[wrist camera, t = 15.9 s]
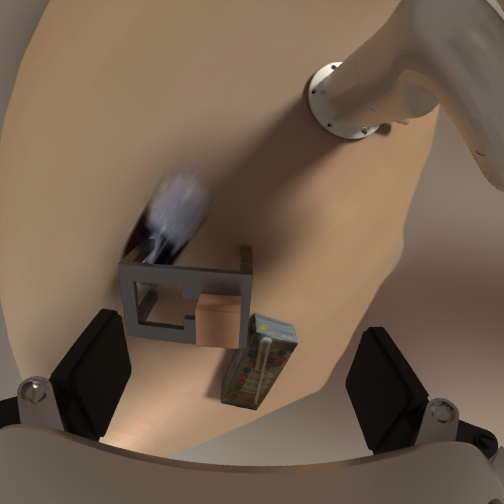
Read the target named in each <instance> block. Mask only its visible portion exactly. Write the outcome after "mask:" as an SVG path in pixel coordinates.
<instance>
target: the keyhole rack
mask: <svg viewBox="0 0 504 504" xmlns="http://www.w3.org/2000/svg"><path fill="white" fill-rule="evenodd" d="M153 249H154V239H145V240H144V241H142V242H141V243H140V244H139V245H138V246H137V247H136V248H135V249H133V250H132V251H131V252H130V253H129V254H128V255H127V256H126V257H125V258H124V259H123V260H121V261H120V262H119V263H118V270H119V279H120V288H121V296H122V303H123V310H124V317H125V323H126V329H127V335H130V336H137V337H143V338H150V339H157V340H164V341H172V342H180V343H189V344H196V316H189V315H185V317H184V326H179V325H171V324H162V323H155V322H147V321H146V319H147V317H148V315H149V314H150V312H151V310H152V308H153V306H154V305H155V303H156V301H157V292H148V293H147V295H146V296H145V298H144V299H143V301H142V302H141V304H140V305H139V304H138V295H137V285H136V282H144V283H154V284H164V285H174V286H183V299H186V300H197V301H198V300H199V297H200V294H212V295H225V296H240V297H241V317H240V331H239V346H238V348H246V344H247V333H248V323H249V312H250V302H251V291H252V281H253V266H252V248H251V246H242V248H241V264H240V271H234V270H220V269H207V268H195V267H183V266H171V265H159V264H148V263H141V262H142V261H143V260H144V259H145V258H146V257H147V256H148V255H149V254H150V252H151V251H152V250H153Z"/></svg>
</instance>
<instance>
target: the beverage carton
mask: <svg viewBox="0 0 504 504" xmlns="http://www.w3.org/2000/svg"><path fill="white" fill-rule="evenodd" d="M297 344H298V340H297V337H296V333H295V329H294V328H293V325H292V324H290V323H286V322H282V321H279V320H276V319H272V318H269V317H266V316H263V315H260V314H256V313H255V314H254V315H253V318H252V320H251V322H250V324H249V327H248V333H247V344H246V348H238V350H237V352H236V354H235V356H234V358H233V360H232V362H231V364H230V366H229V368H228V370H227V373H226V375H225V377H224V379H223V382H222V390H221V403H223V404H228V405H233V406H236V407H241V408H247V409H251V410H257V408H258V407H259V406H260V405H261V403H262V401H263V400H264V398H265V397H266V395H267V394H268V392H269V391H270V389H271V387H272V386H273V384H274V383H275V381H276V379H277V378H278V376H279V374H280V373H281V371H282V370H283V368H284V366H285V365H286V363H287V361H288V359H289V358H290V355H291V354H292V353H293V351H294V349H295V348H296V346H297Z"/></svg>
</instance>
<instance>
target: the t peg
mask: <svg viewBox="0 0 504 504" xmlns="http://www.w3.org/2000/svg"><path fill="white" fill-rule="evenodd" d="M195 316H196V346H207V347H219V348H233V349H238V346H239V331H240V317H241V297H240V296H225V295H212V294H200V297H199V300H198V303H197V307H196V310H195Z"/></svg>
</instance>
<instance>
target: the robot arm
mask: <svg viewBox="0 0 504 504" xmlns="http://www.w3.org/2000/svg"><path fill="white" fill-rule="evenodd" d="M497 2H498V4H499V5H500V7H501V8H502V10H503V11H504V0H497ZM332 68H333V69H334V70H333V69H332ZM312 91H313V92H314V93H315V94H312ZM308 102H309V106H310V109H311V111H312V113H313V115H314V117H315V118H316V120H317V121H318V123H319V124H320V125H321V126H322V127H323V128H325V129H326V130H327V131H329V132H330V133H332V134H334V135H336V136H338V137H342V138H346V139H359V138H364V137H366V136H369V135H371V134H372V133H373V132H375V131H376V130H377V129H378V128H379V127H380V125H381V124H383V123H389V122H395V121H396V122H397V123H400V124H404V125H407V124H408V123H409V120H410V119H412V118H418V117H422V116H424V115H426V114H428V113H430V112H431V111H432V110H433V109H434V108H435V107H436V106H437V105H438V104H439V103H440V105H441V106H442V107H443V109H444V110H445V112H446V113H447V115H448V116H449V117H450V118H451V120H452V121H453V123H454V124H455V126H456V128H457V129H458V131H459V132H460V134H461V136H462V137H463V139H464V141H465V143H466V144H467V146H468V148H469V150H470V152H471V153H472V155H473V157H474V159H475V160H476V162H477V164H478V166H479V168H480V170H481V171H482V173H483V175H484V176H485V178H486V179H487V180H488V181H489V183H490V184H491V185H492V186H494V187H495V188H496V189H498V190H500V191H502V192H504V20H503V19H502V17H501V16H500V15H499V14H498V13H497V11H496V10H495V9H494V8H493V7H492V6H491V5H490V4H489V3H488V1H487V0H401V1H400V3H399V4H398V6H397V7H396V9H395V10H394V12H393V13H392V15H391V16H390V18H389V19H388V20H387V22H386V23H385V24H384V25H383V26H382V27H381V28H380V29H379V30H378V31H377V32H376V33H375V34H374V35H373V36H372V37H371V38H370V39H369V40H367V41H366V42H365V43H364V44H363V45H362V46H360V47H359V48H358V49H357V50H356V51H355V52H353V53H352V54H351V55H350V56H349V57H348V58H347V59H346V60H344V61H343V62H334V63H330V64H328V65H325V66H323V67H322V68H321V69H319V70H318V71H317V72H316V73H315V75H314V76H313V78H312V79H311V81H310V84H309V87H308ZM328 124H330V127H328ZM362 131H363V134H362ZM130 375H131V363H130V358H129V354H128V349H127V344H126V339H125V334H124V328H123V322H122V317H121V315H118V313H117V311H115V310H109V309H101V310H100V312H99V313H98V314H97V315H96V316H95V318H94V319H93V320H92V321H91V323H90V324H89V325H88V326H87V328H86V329H85V330H84V332H83V333H82V334H81V335H80V337H79V338H78V339H77V341H76V342H75V343H74V344H73V346H72V347H71V348H70V350H69V351H68V352H67V354H66V355H65V356H64V358H63V359H62V360H61V362H60V363H59V365H58V366H57V367H56V369H55V370H54V372H53V373H52V374H51V377H50V379H49V380H47V379H46V378H44V377H39V376H35V377H30V378H27V379H26V380H24V381H23V382H22V383H21V384H20V385H19V388H18V390H17V396H16V397H13V398H9V399H5V400H2V401H0V504H504V448H503V447H502V446H501V447H500V448H498V442H497V439H496V437H495V435H494V434H492V433H491V432H490V431H488V430H485V429H482V428H480V427H476V426H474V425H471V424H469V423H466V422H464V421H461V420H459V412H458V409H457V408H456V406H455V405H454V404H453V403H452V402H450V401H448V400H446V399H443V398H435V399H433V400H431V401H430V402H429V400H428V398H427V397H428V396H429V395H428V393H427V391H426V390H425V388H424V387H423V385H422V383H421V382H420V380H419V379H418V377H417V376H416V374H415V373H414V371H413V370H412V368H411V367H410V365H409V364H408V362H407V361H406V360H405V358H404V356H403V355H402V353H401V352H400V350H399V349H398V347H397V346H396V344H395V343H394V342H393V340H392V339H391V337H390V336H389V334H388V333H387V332H386V330H385V329H384V328H383V327H369V328H368V329H367V331H364V332H363V335H362V338H361V341H360V344H359V346H358V349H357V352H356V355H355V358H354V360H353V363H352V366H351V368H350V371H349V373H348V376H347V378H346V389H347V392H348V394H349V397H350V400H351V402H352V405H353V408H354V410H355V413H356V416H357V418H358V421H359V424H360V427H361V429H362V432H363V435H364V438H365V441H366V443H367V446H368V449H369V450H372V451H373V454H374V455H372V456H366V457H361V458H355V459H349V460H343V461H336V462H327V463H318V464H308V465H293V466H231V465H217V464H206V463H197V462H188V461H181V460H174V459H168V458H163V457H157V456H152V455H147V454H143V453H138V452H134V451H130V450H126V449H122V448H118V447H114V446H110V445H107V444H103V443H100V442H98V441H99V439H100V437H104V436H105V434H106V431H107V429H108V426H109V424H110V421H111V419H112V417H113V414H114V412H115V409H116V407H117V405H118V402H119V400H120V398H121V396H122V393H123V391H124V389H125V386H126V384H127V382H128V380H129V377H130Z"/></svg>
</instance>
